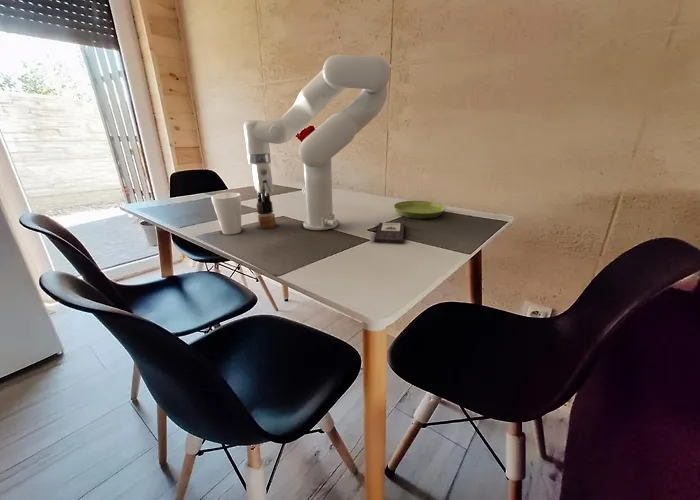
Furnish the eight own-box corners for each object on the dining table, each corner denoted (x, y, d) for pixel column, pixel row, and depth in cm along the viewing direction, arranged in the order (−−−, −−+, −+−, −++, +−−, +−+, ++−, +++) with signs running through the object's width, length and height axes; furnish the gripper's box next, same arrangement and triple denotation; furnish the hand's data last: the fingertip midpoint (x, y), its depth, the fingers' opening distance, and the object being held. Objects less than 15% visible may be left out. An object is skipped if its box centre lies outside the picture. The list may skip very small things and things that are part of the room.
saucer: (392, 220, 121) (392, 212, 120) (394, 207, 140) (394, 200, 139) (447, 221, 118) (448, 213, 117) (441, 208, 137) (442, 201, 136)
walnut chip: (276, 212, 114) (275, 202, 113) (262, 215, 111) (261, 205, 109) (267, 209, 118) (266, 200, 117) (254, 212, 114) (253, 202, 113)
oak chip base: (278, 226, 116) (278, 220, 115) (264, 229, 112) (263, 224, 111) (270, 223, 120) (269, 217, 119) (256, 226, 116) (255, 220, 115)
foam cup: (218, 237, 105) (211, 199, 100) (217, 229, 113) (210, 194, 108) (247, 233, 109) (241, 196, 104) (244, 226, 117) (239, 191, 112)
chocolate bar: (374, 239, 98) (379, 222, 115) (374, 241, 99) (379, 224, 115) (403, 240, 97) (404, 223, 113) (402, 243, 97) (404, 225, 114)
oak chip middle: (278, 220, 115) (277, 214, 115) (263, 224, 111) (263, 218, 111) (269, 217, 119) (268, 211, 118) (255, 220, 115) (254, 215, 115)
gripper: (276, 160, 102) (281, 214, 108) (264, 156, 116) (269, 204, 123) (253, 162, 98) (259, 217, 105) (243, 157, 113) (250, 206, 119)
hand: (265, 209), depth 114 cm, fingers closed on walnut chip, 5 cm apart
